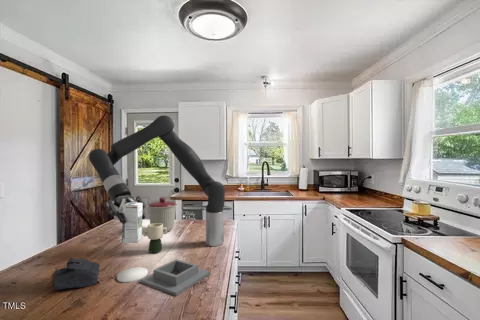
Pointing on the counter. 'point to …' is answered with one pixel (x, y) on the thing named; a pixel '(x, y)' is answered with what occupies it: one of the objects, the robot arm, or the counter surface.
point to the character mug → (155, 236)
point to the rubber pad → (132, 275)
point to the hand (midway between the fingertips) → (135, 220)
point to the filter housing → (175, 277)
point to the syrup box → (132, 222)
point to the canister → (162, 213)
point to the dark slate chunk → (76, 274)
